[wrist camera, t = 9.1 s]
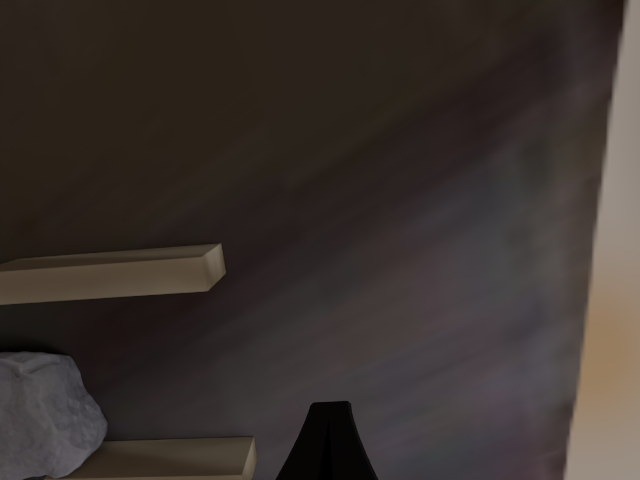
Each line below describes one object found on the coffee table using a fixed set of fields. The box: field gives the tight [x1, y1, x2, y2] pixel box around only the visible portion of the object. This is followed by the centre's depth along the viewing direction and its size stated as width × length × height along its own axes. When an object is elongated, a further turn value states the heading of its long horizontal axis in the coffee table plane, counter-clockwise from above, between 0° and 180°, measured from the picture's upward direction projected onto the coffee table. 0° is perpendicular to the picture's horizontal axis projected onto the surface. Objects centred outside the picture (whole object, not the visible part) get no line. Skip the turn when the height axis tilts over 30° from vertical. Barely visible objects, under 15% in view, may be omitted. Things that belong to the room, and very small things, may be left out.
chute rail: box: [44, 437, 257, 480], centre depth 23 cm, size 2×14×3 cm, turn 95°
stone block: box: [0, 351, 108, 480], centre depth 23 cm, size 12×5×10 cm
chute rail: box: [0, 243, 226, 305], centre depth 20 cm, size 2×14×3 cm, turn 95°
